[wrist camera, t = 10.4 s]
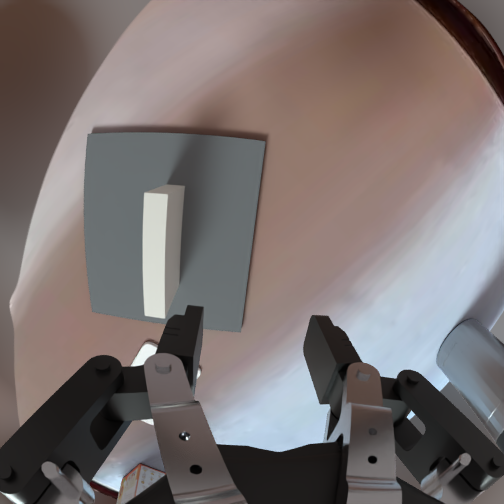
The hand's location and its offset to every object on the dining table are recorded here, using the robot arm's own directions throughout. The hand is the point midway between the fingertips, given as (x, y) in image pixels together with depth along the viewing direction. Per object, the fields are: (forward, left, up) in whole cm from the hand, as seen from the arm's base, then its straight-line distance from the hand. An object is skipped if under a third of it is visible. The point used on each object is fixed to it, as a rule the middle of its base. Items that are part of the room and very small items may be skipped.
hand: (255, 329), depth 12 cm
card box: (+7, 0, -13) cm, 14 cm away
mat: (+8, 0, -13) cm, 15 cm away
